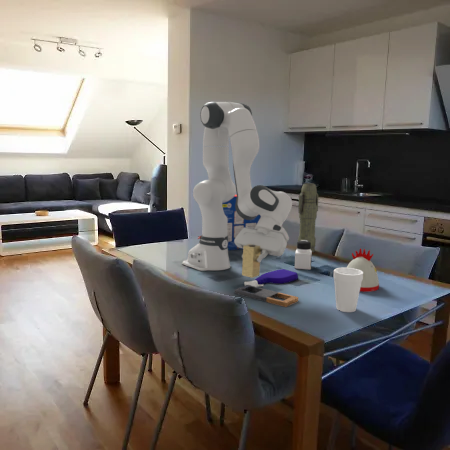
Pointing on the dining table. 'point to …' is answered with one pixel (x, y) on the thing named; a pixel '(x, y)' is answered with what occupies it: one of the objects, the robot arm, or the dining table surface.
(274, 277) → the purple flat blob
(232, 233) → the pasta box
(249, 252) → the tan square peg
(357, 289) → the foam cup
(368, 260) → the kitchen timer
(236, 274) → the dining table surface
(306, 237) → the olive green tall piece
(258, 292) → the peg insertion board
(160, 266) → the dining table surface
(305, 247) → the medicine bottle
